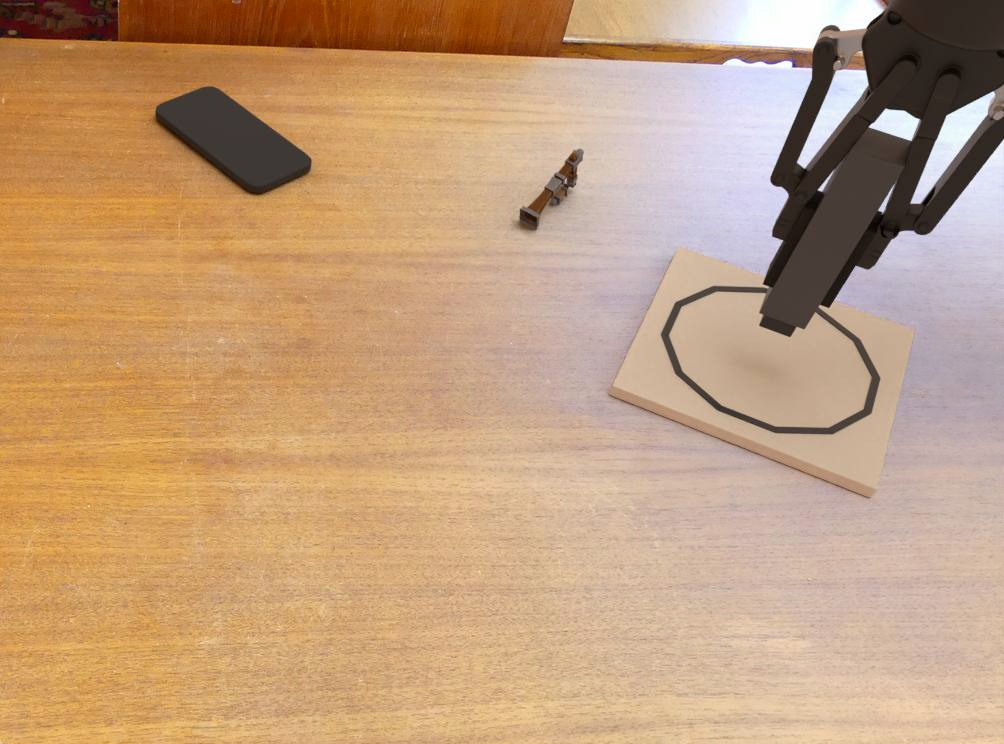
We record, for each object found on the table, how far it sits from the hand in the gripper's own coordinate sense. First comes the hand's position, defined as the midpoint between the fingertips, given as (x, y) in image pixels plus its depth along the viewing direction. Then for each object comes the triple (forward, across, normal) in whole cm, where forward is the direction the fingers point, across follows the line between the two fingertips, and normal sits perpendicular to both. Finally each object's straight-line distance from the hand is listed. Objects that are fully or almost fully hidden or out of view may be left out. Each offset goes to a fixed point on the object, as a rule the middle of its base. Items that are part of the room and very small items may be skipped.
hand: (799, 285), depth 81 cm
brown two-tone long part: (+9, -21, +12) cm, 26 cm away
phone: (+9, -49, +5) cm, 50 cm away
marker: (+4, 0, 0) cm, 4 cm away
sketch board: (+9, +1, +2) cm, 9 cm away
